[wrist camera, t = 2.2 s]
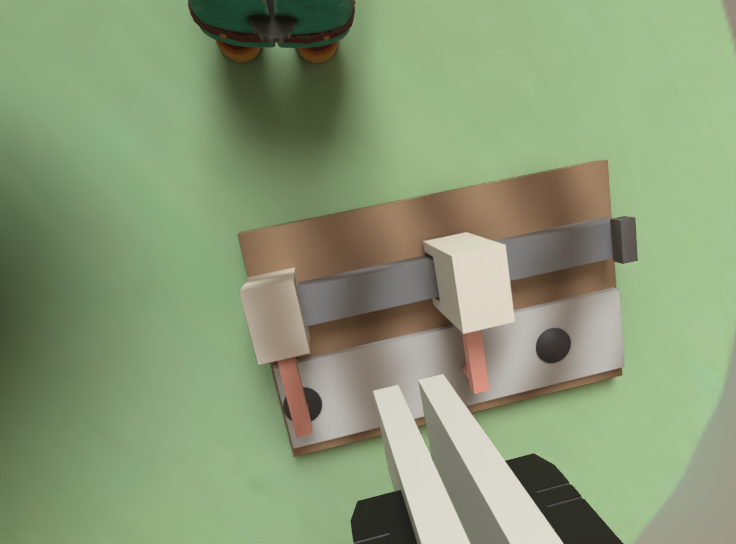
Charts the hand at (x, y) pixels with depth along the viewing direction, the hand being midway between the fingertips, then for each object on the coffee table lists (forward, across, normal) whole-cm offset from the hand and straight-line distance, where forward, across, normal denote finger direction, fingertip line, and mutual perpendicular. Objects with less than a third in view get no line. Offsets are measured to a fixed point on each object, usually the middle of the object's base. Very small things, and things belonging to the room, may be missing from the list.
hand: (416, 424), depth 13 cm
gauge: (+18, +6, -3) cm, 20 cm away
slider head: (+17, +7, -3) cm, 18 cm away
